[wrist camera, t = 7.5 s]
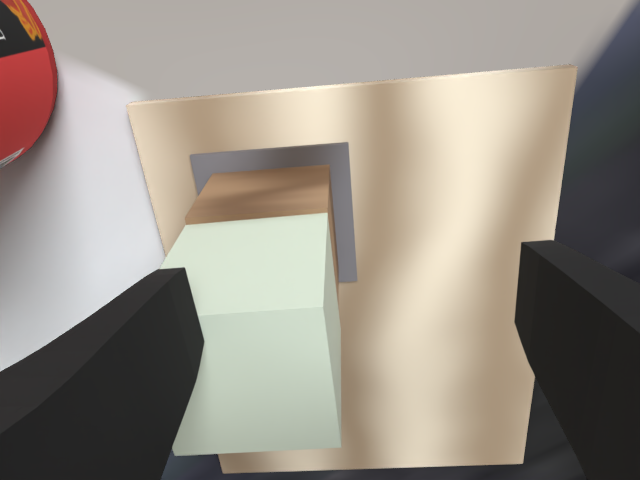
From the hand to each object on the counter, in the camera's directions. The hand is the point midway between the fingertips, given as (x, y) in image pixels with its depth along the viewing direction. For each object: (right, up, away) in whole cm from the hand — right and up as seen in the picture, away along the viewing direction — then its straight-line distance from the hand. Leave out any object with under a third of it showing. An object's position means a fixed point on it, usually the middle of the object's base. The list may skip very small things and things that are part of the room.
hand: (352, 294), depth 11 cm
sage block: (-2, 0, +6) cm, 6 cm away
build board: (+1, -2, +12) cm, 12 cm away
